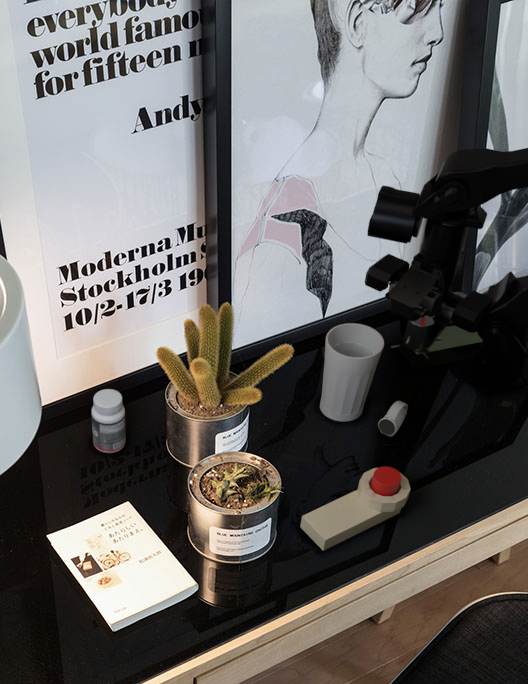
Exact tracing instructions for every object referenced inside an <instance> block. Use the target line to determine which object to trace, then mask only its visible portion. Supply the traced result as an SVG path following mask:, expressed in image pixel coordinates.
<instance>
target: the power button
mask: <svg viewBox="0 0 528 684" xmlns="http://www.w3.org/2000/svg"><path fill="white" fill-rule="evenodd" d="M377 468H378V469H376V470H375V471H374V474H373V478H372V482H371V488H372V490H373V491H374V492H375V493H376V494H378V495H381V496H392V495H394V494H395V495H396V494H398V492H397V491H398V489H399V485H400V482H401V474H402V473H401V472H400V471H399V470H397V469H396V468H394V467H391V466H380V467H377ZM399 472H400V473H401V474H400V473H399Z"/></svg>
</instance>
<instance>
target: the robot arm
mask: <svg viewBox="0 0 528 684" xmlns="http://www.w3.org/2000/svg"><path fill="white" fill-rule="evenodd" d="M526 188H528V147H524V148H520V149H516V150H508V151H501V150H495V149H491V148H486V147H485V148H467V149H466V148H465V149H458V150H456V151H454V152H451V153H450V154H448V156H447V157H446V158H445V160H444V161H443V163H442V164H441V168H440V170H439V171H438V172H437V173H436V174H435V175H434V176H433V177H431V178H430V179H429V180H428V181H427V182H425V183H424V184H423V187H422V189H421V191H420V193H419V192H413V191H408V190H402V189H398V188H395V187H392V186H388V185H382V186H381V187H380V189H379V191H378V193H377V197H376V198H377V199H376V202H375V205H374V207H373V211H372V214H371V216H370V217H369V221H368V227H367V234H366V235H367V237H370V238H376V239H379V240H381V239H382V240H386V241H391V242H394V243H396V242H397V243H400V244H406V245H407V244H410V243H411V242H412V238H415V239H416V238H418V236H419V234H420V231H421V228H422V224H423V220H424V219H425V220H426V221H425V226H424V231H423V233H422V238H421V241H420V246H419V250H418V253H416V254H415V255H414V256H413V259H412V261H411V263H409V261H407V260H405V259H402V258H400V257H398V256H396V255H393V254H390V253H387V254H386V255H384V256H382V257H381V258H379V259H378V260H377V261H376V262H375V263H374V264H372V265H370V266H369V267H368V269H367V270H366V273H365V277H364V285H365V286H366V287H369V288H370V289H373V290H375V291H377V292H379V293H381V292H383V291H385V290H387V289H388V291H387V292H386V293H385V294H384V296H385V298H386V299H387V300H389V311H390V312H391V313H393V314H395V315H396V314H397V316H398V321H399V326H400V327H399V328H400V333H401V336H402V337H403V336H404V335H405V331H406V327H407V323H408V320H410V321H416V320H418V319H419V318H420V317H424V316H429V317H433V316H434V315H435V316H434V317H433V321H434V324H433V327H432V330H431V332H430V335H429V338H428V341H427V347H428V348H429V347H431V346H432V345H433V343H434V342H435V341H436V339H437V338H438V337H439V336H440V334H441V333H442V332H443V331H444V329H445V328H446V327H448V326H457V327H459V328H461V329H463V330H465V331H468V332H470V333H473V332H477V333H478V335H479V337H480V338H481V339H482V340H483V341H482V343H481V346H480V349H479V351H477V352H476V354H475V357H474V358H473V360H472V363H470V364H467V365H466V367H465V370H466V371H467V372H468V374H469V375H470V376H471V378H472V379H473V380H474V382H475V383H476V384H477V385H478V387H479V388H480V390H481V391H482V392H483V394H493V393H498V392H502V391H507V390H513V389H518V388H522V387H523V386H524V385H525V382H524V381H523V379H522V378H521V377H520V375H521V373H522V370H523V368H524V365H525V362H526V359H527V357H528V274H527V275H523V276H520V277H517V276H516V275H515V274H514V273H513V271H509V272H508V273H506V274H505V276H504V277H503V278H502V279H500V281H498V282H497V283H494V284H492V285H489V286H488V289H487V293H486V294H484V293H480V292H478V291H476V290H472V291H471V292H470V293H469V294H465V293H463V292H462V291H452V288H453V287H454V286H455V285H457V282H458V279H459V277H457V276H456V275H457V270H458V267H459V263H460V262H461V261H462V260H463V259H464V258H465V254H466V251H464V246H465V243H466V239H467V236H468V232H469V229H470V228H471V229H477V230H482V229H483V228H484V225H485V222H486V220H487V217H488V213H487V211H486V210H485V208H483V207H482V205H484V204H486V203H488V202H490V201H491V200H493V199H495V198H496V197H498V196H500V195H502V194H505V193H508V192H510V191H514V190H515V191H516V190H520V189H521V190H522V189H526ZM439 310H440V311H439Z"/></svg>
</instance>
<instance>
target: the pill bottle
mask: <svg viewBox="0 0 528 684" xmlns="http://www.w3.org/2000/svg"><path fill="white" fill-rule="evenodd" d="M92 402H93V405H92V407H91V412H90V413H91V429H92V431H91V432H92V443H93V446H94V447H95V449H97V450H98V451H99V452H102V453H106V454H114V453H117V452H119V451H121V450H122V449H123V448H124V447H125V445H126V443H127V440H126V439H127V437H126V435H127V434H126V409H125V406H124V403H123V402H124V401H123V395H122V394H121V393H120V391H118V390H116V389H113V388H105V389H100V390H99V391H97V392H96V393H95V394H94V395H93V401H92Z"/></svg>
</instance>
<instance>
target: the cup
mask: <svg viewBox="0 0 528 684" xmlns="http://www.w3.org/2000/svg"><path fill="white" fill-rule="evenodd" d="M324 346H325V347H324V365H323V375H322V385H321V386H322V388H321V396H320V403H319V409H320V411H321V413H322V414H323V415H324V416H325V417H327V418H328V419H331V420H332V421H336V422H351V421H355V420H356V419H358V418H360V416H361V415H362V414H363V411H364V407H365V403H366V400H367V397H368V393H369V391H370V387H371V385H372V381H373V378H374V375H375V373H376V369H377V366H378V364H379V361H380V358H381V355H382V353H383V351H384V346H385V340H384V338H383V335H382V334H381V333H380V332H379V331H377V330H376V329H375V328H373V327H371V326H370V325H369V326H368V325H365V324H363V323H355V322H351V323H350V322H348V323H342V324H338V325H336V326H333V327H332V328H331V329H330V330H329V331H328V332H327V333H326V335H325V344H324Z"/></svg>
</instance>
